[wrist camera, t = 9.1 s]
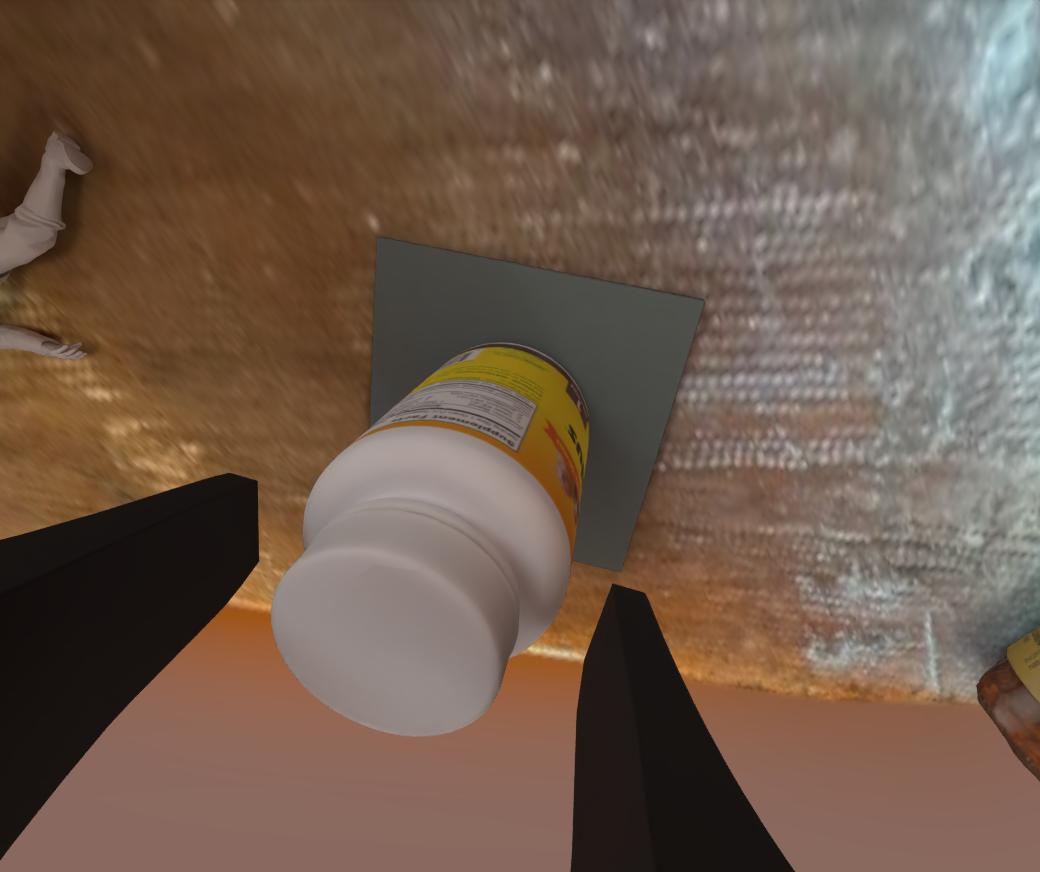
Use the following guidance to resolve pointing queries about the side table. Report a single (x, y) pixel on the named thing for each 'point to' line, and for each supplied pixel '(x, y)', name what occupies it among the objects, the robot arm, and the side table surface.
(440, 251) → the mat
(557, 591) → the supplement bottle
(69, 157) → the soldier figure
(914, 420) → the side table surface
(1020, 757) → the sauce bottle
